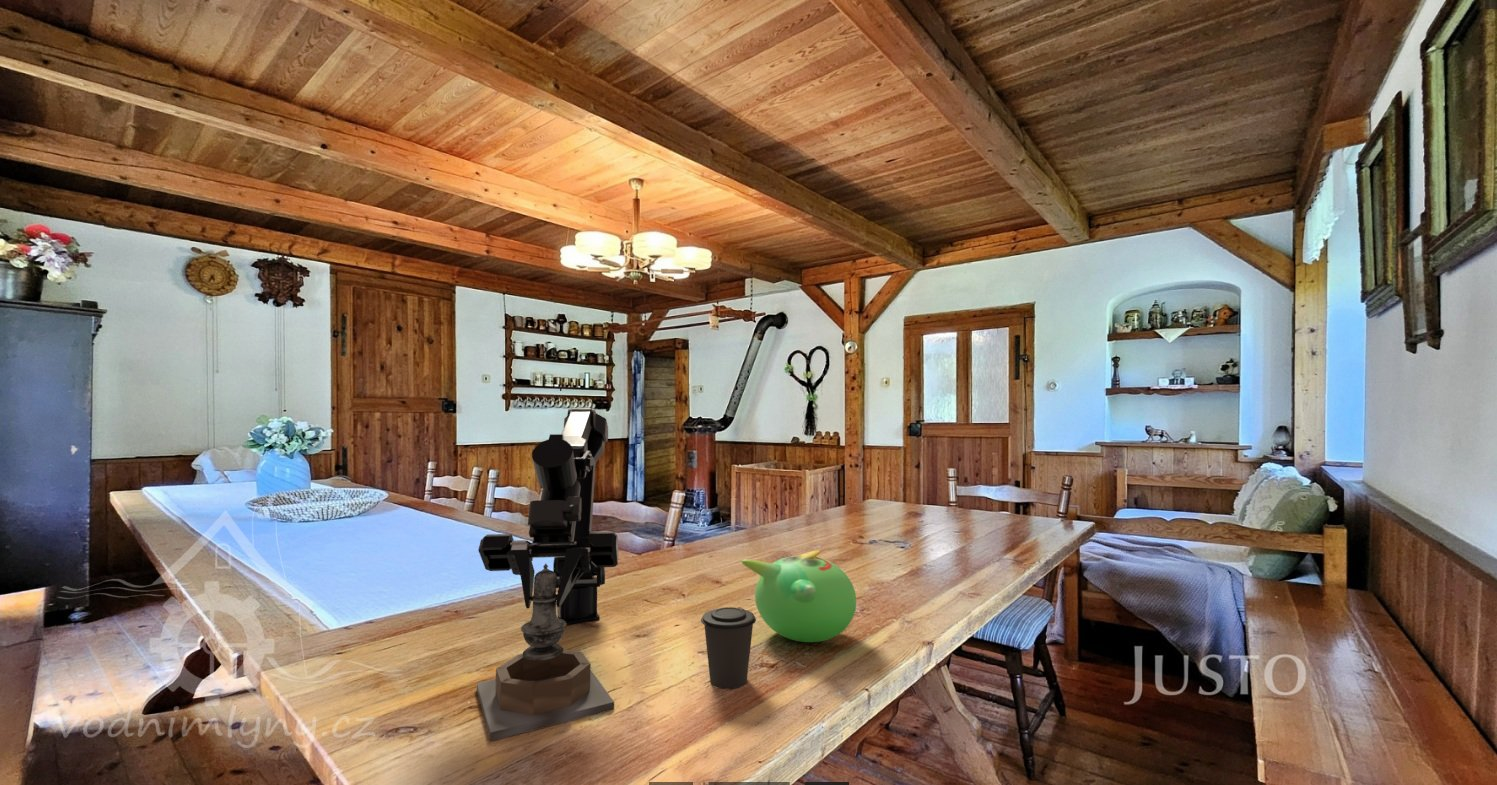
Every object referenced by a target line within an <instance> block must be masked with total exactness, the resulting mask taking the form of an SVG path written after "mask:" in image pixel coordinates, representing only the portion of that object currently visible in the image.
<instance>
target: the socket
mask: <svg viewBox="0 0 1497 785" xmlns="http://www.w3.org/2000/svg"><path fill="white" fill-rule="evenodd" d="M522 654H523V653H521V654H517V655H516V656H514V657H512V658H511V659H509V660H507V661H505V662H504V663H503V664H501V665H499V666H497V667H496V668H495V679H490V680H484V681H480V682H477V683H476V692H477V695H478V700H479V703H480V704H479V705H480V708H481V711H482V716H483V719H484V723H485V727H486V729H487V730H486V731H487V733H488V738H489V741H490V742H493V741H497V740H501V739H505V738H508V737H513V736H516V735H521V734H524V733H527V732H529V733H530V732H532V731H537V730H540V729H543V728H548V727H551V726H555V725H560V724H564V723H568V722H572V721H575V720H579V719H583V718H587V717H590V716H595V715H598V714H599V715H600V714H603V713H607V712H610V711H615V700H614V699H613V698H612V697H611V695H610V694H609V693H608V691H607V690H606V689H605V687H604V686H603V684H602V683H601V682H600V680H599V679H598V677H596V674H595V673H594V672H593V670H591V662H590V661H589V659H588V658H587V657H586V656H585V654H584V653H583V652H582V651H581V650H579V651H578V650H571V649H570V650H569V649H564V650H563V653H562V654H561V655H559V656H557V657H555V658H551V659H547V660H528V659H526V658H524V657H523V655H522Z"/></svg>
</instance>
